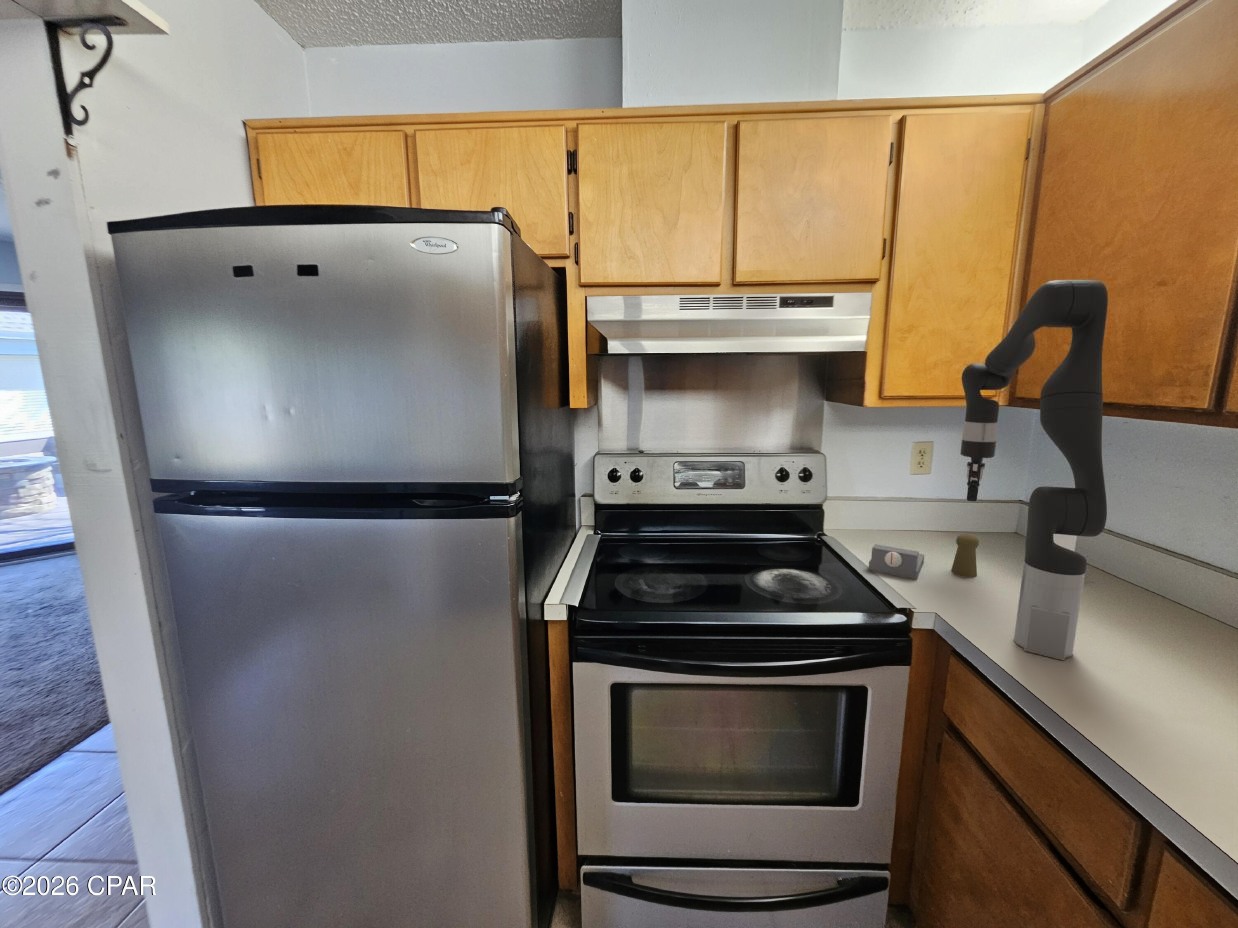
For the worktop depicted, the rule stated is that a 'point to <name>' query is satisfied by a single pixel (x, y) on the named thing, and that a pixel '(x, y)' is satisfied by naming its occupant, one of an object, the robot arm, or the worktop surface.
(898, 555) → the knob on square plate
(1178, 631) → the worktop surface
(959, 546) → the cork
